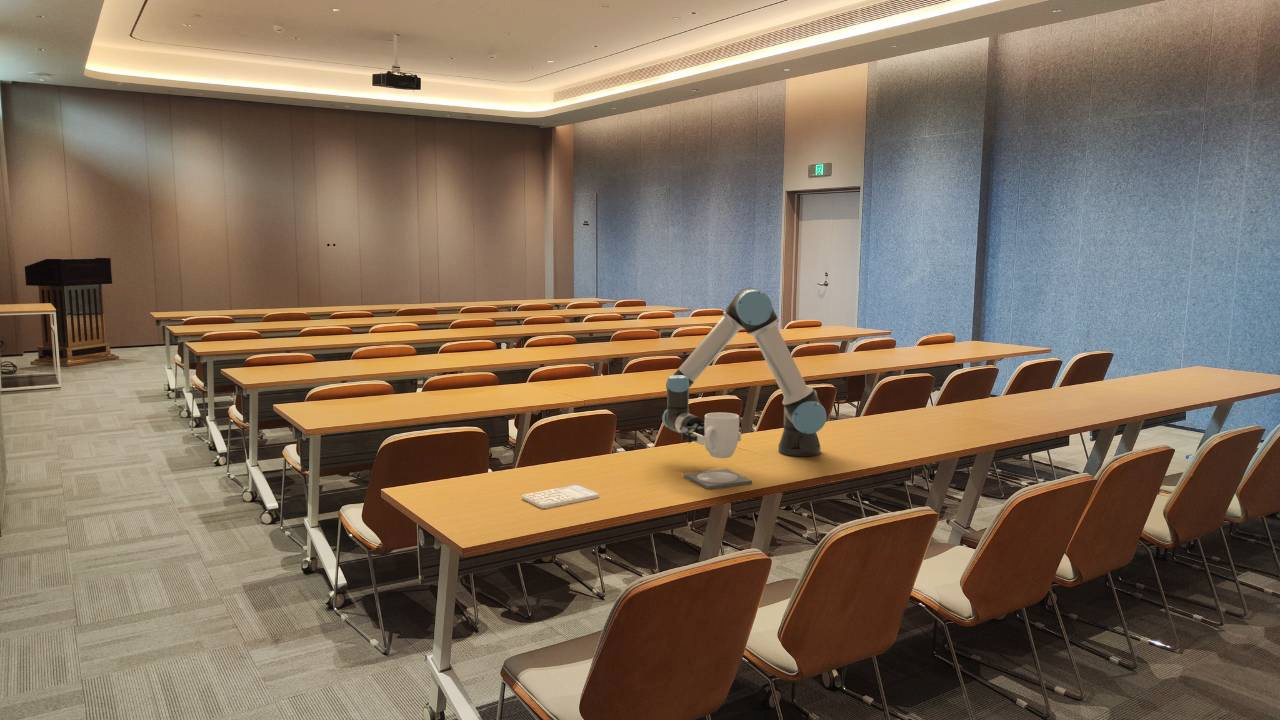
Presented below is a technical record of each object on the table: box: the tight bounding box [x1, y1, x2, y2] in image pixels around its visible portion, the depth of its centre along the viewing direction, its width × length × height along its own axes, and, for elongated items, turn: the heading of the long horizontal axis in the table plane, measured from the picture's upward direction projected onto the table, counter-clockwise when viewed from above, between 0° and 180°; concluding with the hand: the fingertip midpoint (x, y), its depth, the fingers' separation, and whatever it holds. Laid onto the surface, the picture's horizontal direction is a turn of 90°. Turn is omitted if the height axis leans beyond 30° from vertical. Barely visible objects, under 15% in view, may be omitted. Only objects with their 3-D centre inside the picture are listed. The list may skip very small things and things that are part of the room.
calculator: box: [521, 484, 600, 509], centre depth 258 cm, size 13×20×2 cm, turn 126°
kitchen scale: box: [683, 468, 753, 490], centre depth 277 cm, size 16×16×1 cm
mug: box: [704, 412, 740, 459], centre depth 272 cm, size 15×11×13 cm
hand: (721, 438), depth 272 cm, fingers closed on mug, 13 cm apart
